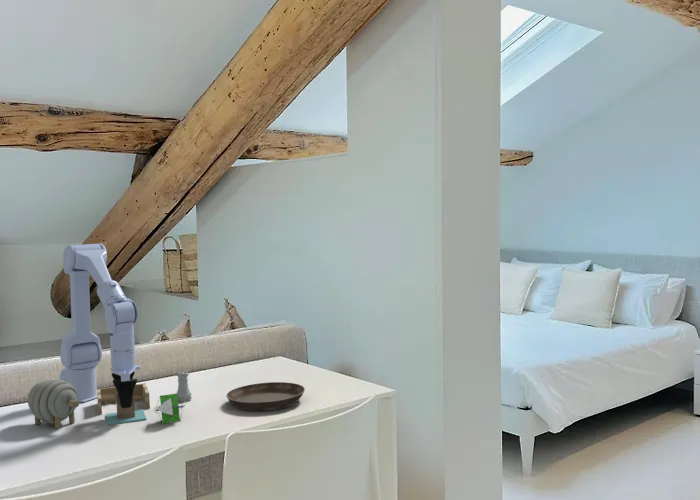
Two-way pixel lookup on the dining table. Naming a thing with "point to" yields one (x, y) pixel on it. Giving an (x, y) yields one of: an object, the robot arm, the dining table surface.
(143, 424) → the dining table surface
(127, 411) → the walnut block
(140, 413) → the teal mat
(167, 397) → the geometric puzzle
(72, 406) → the toy sheep
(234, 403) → the plant saucer
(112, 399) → the oak open-side box
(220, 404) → the dining table surface
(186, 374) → the rook chess piece
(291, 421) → the dining table surface
